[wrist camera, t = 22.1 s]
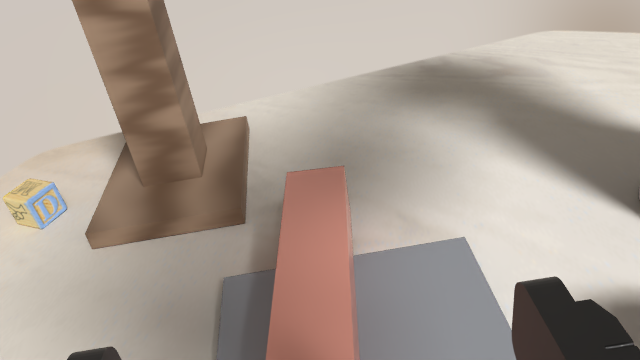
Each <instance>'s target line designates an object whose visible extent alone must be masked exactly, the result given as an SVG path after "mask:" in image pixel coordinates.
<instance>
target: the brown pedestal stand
mask: <svg viewBox="0 0 640 360" xmlns="http://www.w3.org/2000/svg"><path fill="white" fill-rule="evenodd" d="M72 1H73V4H74V7H75V9H76V12H77V15H78V17H79V20H80V22H81V25H82V28H83V30H84V33H85V35H86V38H87V41H88V43H89V46H90V48H91V51H92V54H93V56H94V59H95V61H96V64H97V67H98V69H99V72H100V74H101V77H102V79H103V82H104V85H105V87H106V90H107V92H108V95H109V98H110V100H111V103H112V106H113V108H114V111H115V113H116V116H117V119H118V121H119V124H120V126H121V129H122V132H123V134H124V137H125V139H126V143H125V146H124V148H123V150H122V152H121V155H120V157H119V159H118V161H117V164H116V166H115V168H114V170H113V172H112V175H111V177H110V179H109V181H108V184H107V186H106V188H105V190H104V193H103V195H102V197H101V199H100V202H99V204H98V206H97V208H96V211H95V213H94V215H93V217H92V220H91V222H90V224H89V226H88V229H87V231H86V233H85V235H86V237H87V239H88V241H89V243H90V245H91V247H92V249H96V248H102V247H108V246H113V245H119V244H125V243H131V242H137V241H143V240H149V239H155V238H161V237H167V236H172V235H178V234H184V233H190V232H196V231H202V230H208V229H214V228H220V227H226V226H231V225H237V224H243V223H245V214H246V193H247V171H248V149H249V126H248V121H247V117H246V116H244V117H238V118H233V119H227V120H221V121H215V122H209V123H203V124H200V122H199V119H198V115H197V112H196V109H195V105H194V102H193V98H192V95H191V92H190V88H189V85H188V81H187V78H186V75H185V71H184V68H183V64H182V61H181V58H180V55H179V51H178V47H177V44H176V41H175V37H174V34H173V30H172V27H171V24H170V21H169V17H168V14H167V10H166V7H165V3H164V0H72Z"/></svg>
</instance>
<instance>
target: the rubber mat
mask: <svg viewBox="0 0 640 360" xmlns="http://www.w3.org/2000/svg"><path fill="white" fill-rule="evenodd" d="M353 260H354V276H355V292H356V308H357V324H358V340H359V356H360V360H516V357H515V353H514V349H513V344H512V330H511V328H510V326H509V324H508V322H507V320H506V318H505V316H504V314H503V312H502V310H501V308H500V306H499V304H498V302H497V300H496V298H495V296H494V294H493V292H492V290H491V288H490V286H489V284H488V282H487V281H486V279H485V277H484V275H483V273H482V271H481V269H480V267H479V265H478V263H477V261H476V259H475V257H474V255H473V253H472V251H471V249H470V247H469V245H468V243H467V241H466V239H465V237H461V238H455V239H449V240H443V241H438V242H432V243H426V244H420V245H414V246H408V247H402V248H396V249H390V250H384V251H378V252H373V253H367V254H361V255H355V256H353ZM275 273H276V269H272V270H266V271H260V272H254V273H249V274H243V275H237V276H231V277H225V278H224V281H223V293H222V304H221V315H220V327H219V338H218V349H217V360H266V353H267V344H268V335H269V326H270V317H271V309H272V300H273V291H274V282H275Z"/></svg>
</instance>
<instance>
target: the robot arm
mask: <svg viewBox="0 0 640 360" xmlns="http://www.w3.org/2000/svg"><path fill="white" fill-rule="evenodd" d="M639 200H640V187H639ZM512 344H513V349H514V353H515V357H516V360H640V350H639V349H638V347H637V346H634V344H633V340H632V339H631V337H630V336H629V335H628V333H627V332H626V331H625V329H624V328H623V326H622V325H621V324H620V322H619V321H618V319H617V318H616V317H615V316H613V315H612V314H611V313H609V312H608V311H606V310H605V309H604V308H602V307H601V306H600V305H598V304H597V303H595V302H594V301H593V300H591V299H589V300H582V301H576V302H575V301H574V299H573V297H572V296H571V294H570V293H569V291H568V290H567V288H566V287H565V285H564V284H563V282H562V281H561V280H560V279H559V278H558V277H549V278H542V279H536V280H530V281H524V282H518V283H517V284H516V286H515V292H514V306H513V321H512ZM67 360H121V358H120V356H119V354H118V352H117V351H116V349H115V348H113V347H106V348H99V349H93V350H87V351H81V352H75V353H72V354H71V355H70V356H69V357H68V359H67Z"/></svg>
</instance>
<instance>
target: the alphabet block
mask: <svg viewBox="0 0 640 360" xmlns="http://www.w3.org/2000/svg"><path fill="white" fill-rule="evenodd" d="M3 200H4V202H5V204H6V205H7V207H8V208H9V210H10V212H11V213H12V215H13V217H14V218H15V220H16V222H17V223H18V224H21V225H26V226H30V227H35V228H39V229H43V228H45V227H46V226H47V225H48V224H49V223H51V222H52V221H53V220H54V219H56V218H57V217H58V216H59V215H60V214H62V213H63V212H64V211H65V210H66V209H67V206H66V204H65V202H64V201H63V199H62V197H61V195H60V193H59V191H58V189H57V187H56V186H55V184H54V182H48V181H42V180H36V179H27V180H26V181H25V182H23V183H22V184H20V185H19V186H18V187H16V188H15V189H14V190H12V191H11V192H9V193H8V194H7V195H5V196H4V197H3Z"/></svg>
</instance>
